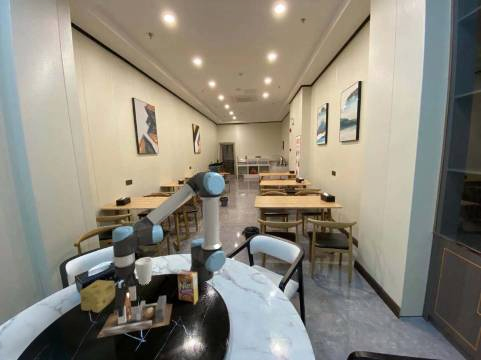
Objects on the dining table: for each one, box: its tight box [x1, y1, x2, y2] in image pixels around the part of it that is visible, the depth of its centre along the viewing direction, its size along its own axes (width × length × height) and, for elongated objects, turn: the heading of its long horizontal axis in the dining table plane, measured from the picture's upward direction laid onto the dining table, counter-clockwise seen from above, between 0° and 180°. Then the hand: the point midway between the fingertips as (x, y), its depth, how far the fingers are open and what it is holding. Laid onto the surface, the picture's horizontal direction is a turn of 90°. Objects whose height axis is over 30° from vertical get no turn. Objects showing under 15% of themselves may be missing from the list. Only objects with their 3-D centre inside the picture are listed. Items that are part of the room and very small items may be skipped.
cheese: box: [79, 279, 116, 313], centre depth 99 cm, size 10×11×10 cm
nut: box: [145, 307, 155, 318], centre depth 88 cm, size 4×4×4 cm
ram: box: [118, 290, 147, 326], centre depth 86 cm, size 9×8×12 cm
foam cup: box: [134, 256, 153, 286], centre depth 117 cm, size 10×9×13 cm
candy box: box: [177, 269, 199, 306], centre depth 99 cm, size 9×4×15 cm, turn 73°
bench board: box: [96, 295, 173, 339], centre depth 87 cm, size 27×13×8 cm, turn 103°
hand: (128, 310), depth 86 cm, fingers open, 13 cm apart
